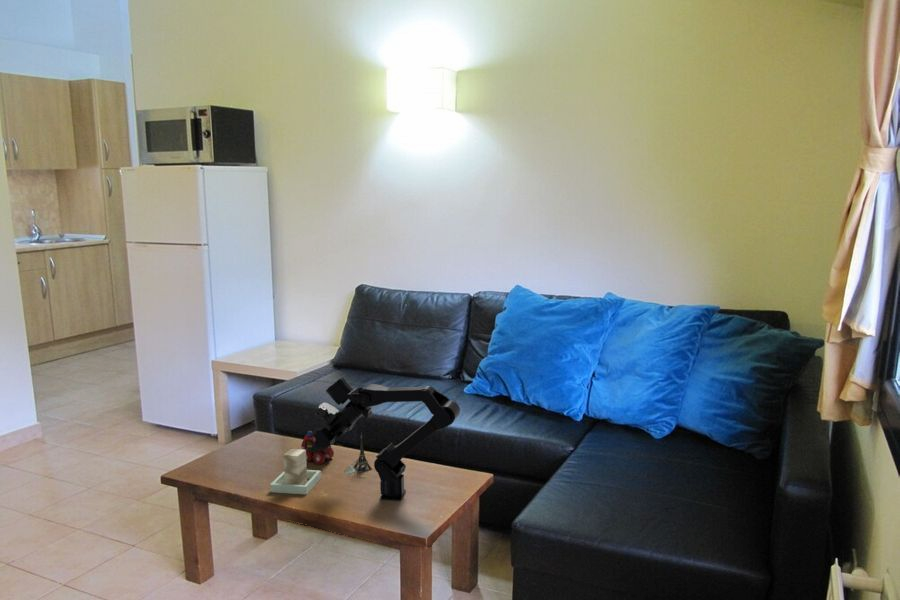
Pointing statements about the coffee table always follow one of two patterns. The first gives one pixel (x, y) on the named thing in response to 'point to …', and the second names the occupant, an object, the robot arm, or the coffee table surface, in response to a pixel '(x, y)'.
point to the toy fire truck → (318, 455)
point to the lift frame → (295, 489)
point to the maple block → (295, 467)
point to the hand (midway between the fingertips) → (317, 446)
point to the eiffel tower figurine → (361, 462)
